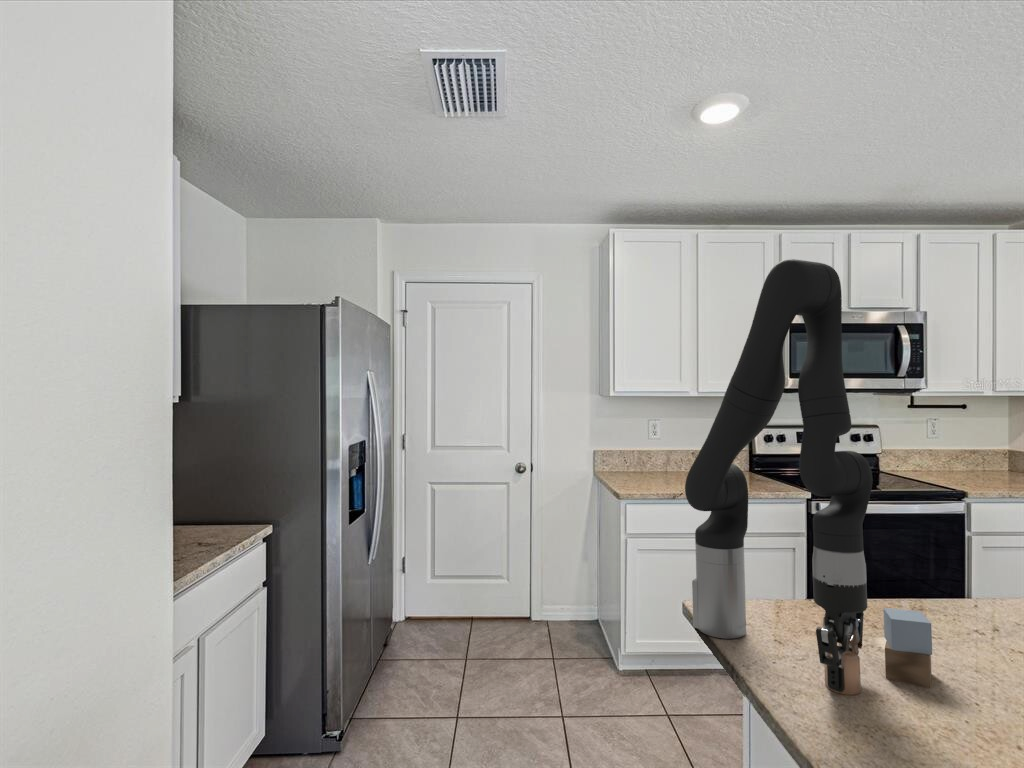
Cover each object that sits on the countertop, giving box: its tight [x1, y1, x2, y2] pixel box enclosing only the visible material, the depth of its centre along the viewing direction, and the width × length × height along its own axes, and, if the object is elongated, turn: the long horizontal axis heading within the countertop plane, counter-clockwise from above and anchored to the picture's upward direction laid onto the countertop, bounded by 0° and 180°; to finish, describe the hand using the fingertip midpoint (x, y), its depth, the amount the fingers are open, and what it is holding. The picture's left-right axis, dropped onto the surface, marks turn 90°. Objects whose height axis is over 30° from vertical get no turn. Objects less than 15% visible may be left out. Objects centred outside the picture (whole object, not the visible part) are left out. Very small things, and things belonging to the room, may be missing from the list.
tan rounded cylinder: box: [823, 651, 862, 696], centre depth 93 cm, size 5×5×5 cm
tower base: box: [884, 641, 932, 690], centre depth 96 cm, size 6×6×5 cm
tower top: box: [882, 607, 933, 656], centre depth 96 cm, size 6×6×5 cm
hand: (842, 683), depth 93 cm, fingers closed on tan rounded cylinder, 5 cm apart
